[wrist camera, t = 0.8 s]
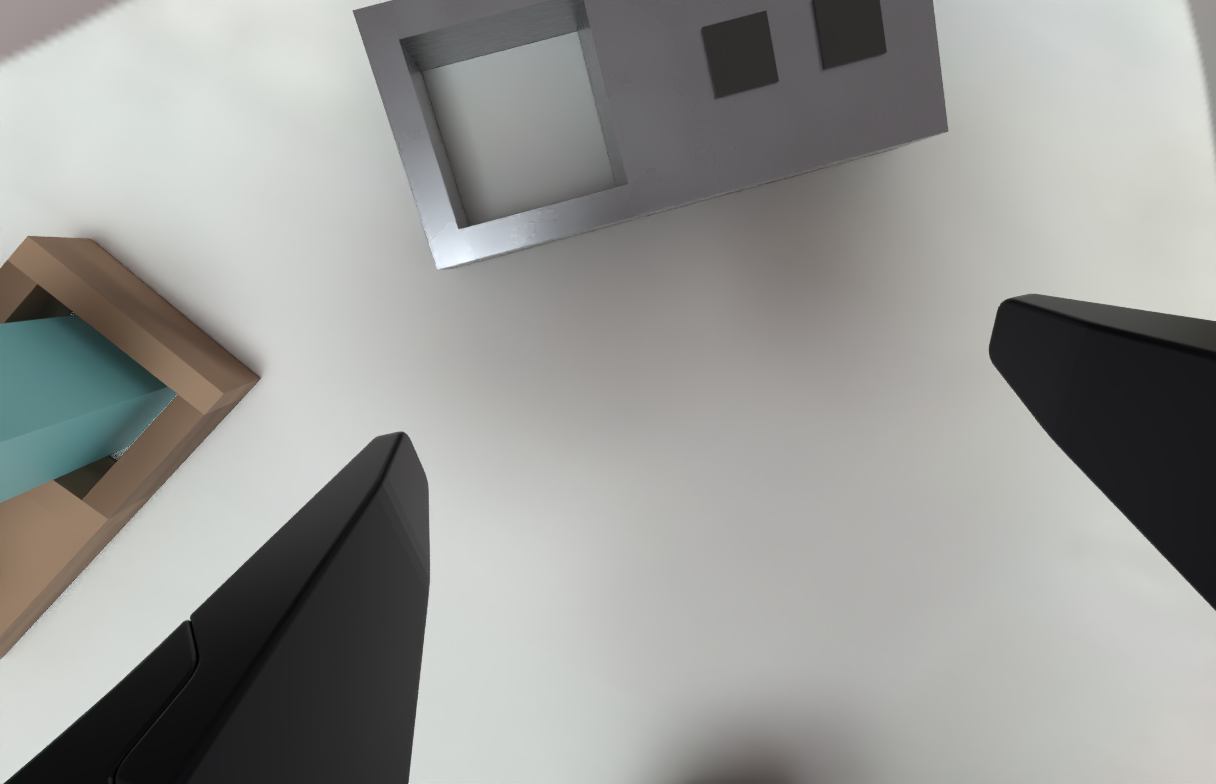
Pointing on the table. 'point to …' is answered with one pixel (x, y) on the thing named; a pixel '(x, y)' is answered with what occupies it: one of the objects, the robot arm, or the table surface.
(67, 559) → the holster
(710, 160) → the port block
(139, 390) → the plug
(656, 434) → the table surface
